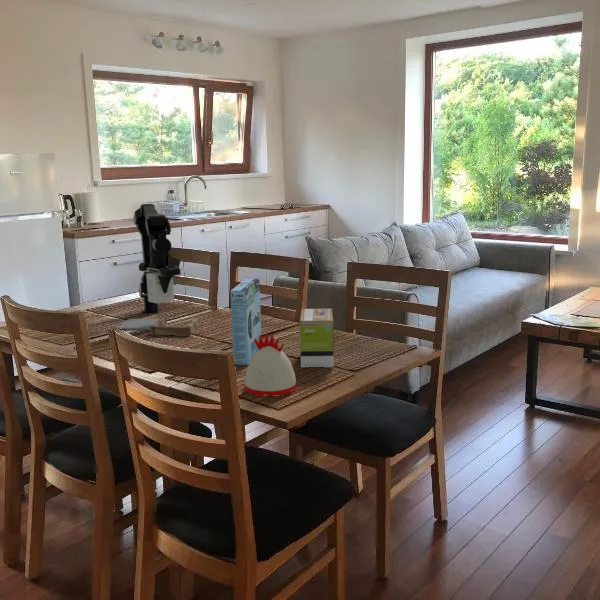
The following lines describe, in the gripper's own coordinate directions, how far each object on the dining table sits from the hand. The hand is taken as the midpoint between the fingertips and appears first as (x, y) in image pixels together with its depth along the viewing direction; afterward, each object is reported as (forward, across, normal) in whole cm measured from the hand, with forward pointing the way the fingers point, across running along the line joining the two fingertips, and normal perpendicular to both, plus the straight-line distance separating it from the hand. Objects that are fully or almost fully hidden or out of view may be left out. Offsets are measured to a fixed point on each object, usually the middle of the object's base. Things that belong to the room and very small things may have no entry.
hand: (160, 291), depth 246 cm
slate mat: (+12, +4, +6) cm, 15 cm away
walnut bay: (+12, -11, +2) cm, 16 cm away
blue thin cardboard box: (+12, -54, +5) cm, 55 cm away
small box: (+4, 0, 0) cm, 4 cm away
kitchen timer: (+12, -80, +20) cm, 83 cm away
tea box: (+12, -72, -7) cm, 74 cm away
